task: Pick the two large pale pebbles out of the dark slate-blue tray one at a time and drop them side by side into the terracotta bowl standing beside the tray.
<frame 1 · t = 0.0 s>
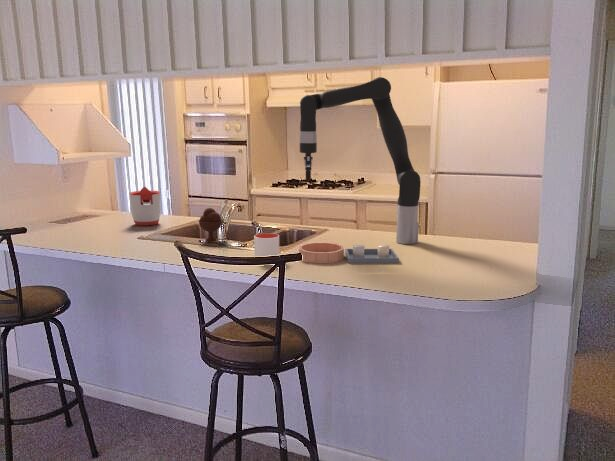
hand: (308, 178, 250), 29 cm above the countertop, tool pointing down, fingers open, 8 cm apart
ice cream bowl: (211, 240, 261), on the countertop
terracotta bowl: (321, 258, 229), on the countertop
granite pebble: (358, 258, 227), resting on parts tray
sandstone pebble: (383, 258, 227), resting on parts tray
parts tray: (370, 259, 227), on the countertop
citrus juicer: (146, 224, 297), on the countertop
cup: (267, 260, 227), on the countertop
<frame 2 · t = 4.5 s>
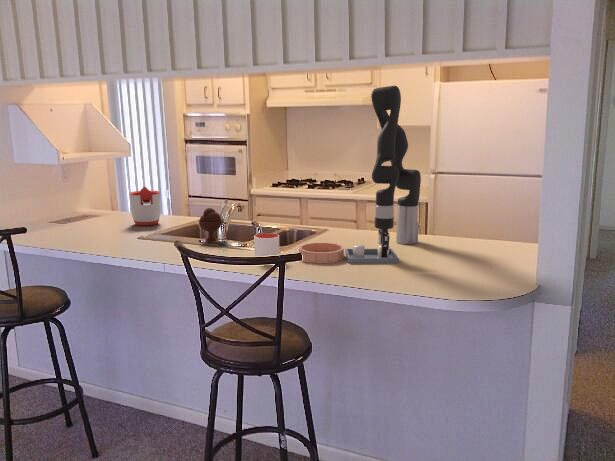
hand: (383, 257, 227), 1 cm above the countertop, tool pointing down, fingers closed on sandstone pebble, 4 cm apart
sandstone pebble: (383, 258, 227), resting on parts tray, touching gripper
everything else where it was.
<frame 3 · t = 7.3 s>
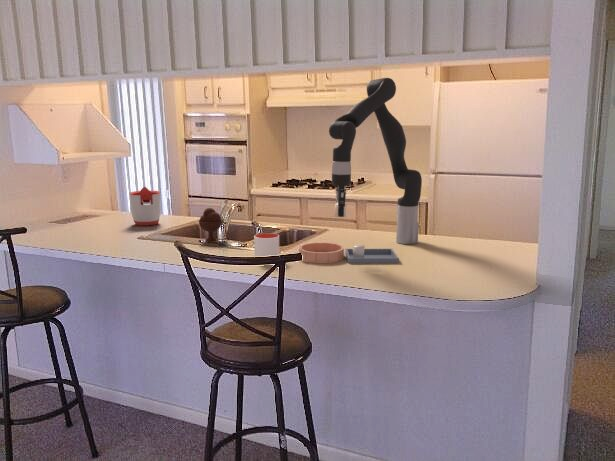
hand: (340, 215, 224), 18 cm above the countertop, tool pointing down, fingers closed on sandstone pebble, 4 cm apart
sandstone pebble: (340, 216, 224), point 18 cm above the countertop, touching gripper
everything else where it was.
when the fingers open (5 cm above the countertop, at t = 10.0 s): sandstone pebble drops 4 cm, resting on terracotta bowl.
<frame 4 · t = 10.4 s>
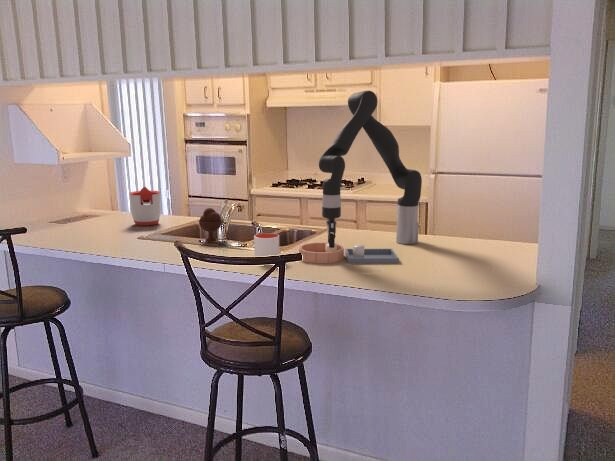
hand: (331, 245, 228), 6 cm above the countertop, tool pointing down, fingers open, 8 cm apart
sandstone pebble: (331, 256, 229), point 1 cm above the countertop, touching terracotta bowl
everything else where it was.
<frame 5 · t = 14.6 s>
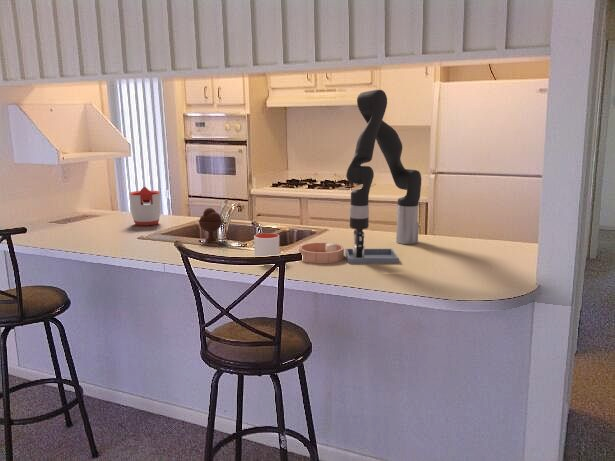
hand: (358, 257, 227), 1 cm above the countertop, tool pointing down, fingers closed on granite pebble, 4 cm apart
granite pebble: (358, 258, 227), resting on parts tray, touching gripper
everything else where it was.
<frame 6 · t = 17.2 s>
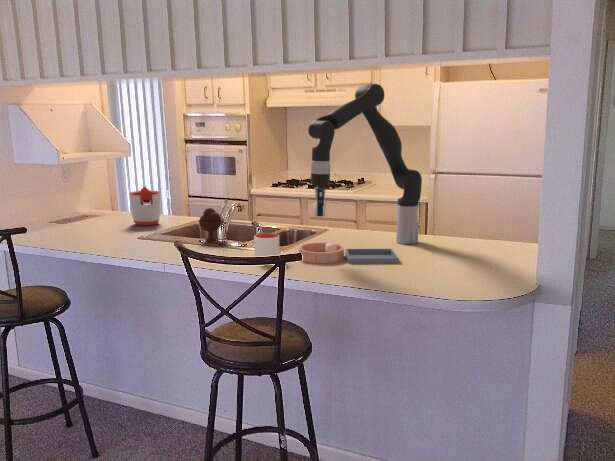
hand: (319, 214, 224), 18 cm above the countertop, tool pointing down, fingers closed on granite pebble, 4 cm apart
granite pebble: (319, 215, 224), point 18 cm above the countertop, touching gripper
everything else where it was.
when the fingers open (5 cm above the countertop, at t = 19.9 s): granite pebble drops 4 cm, resting on terracotta bowl.
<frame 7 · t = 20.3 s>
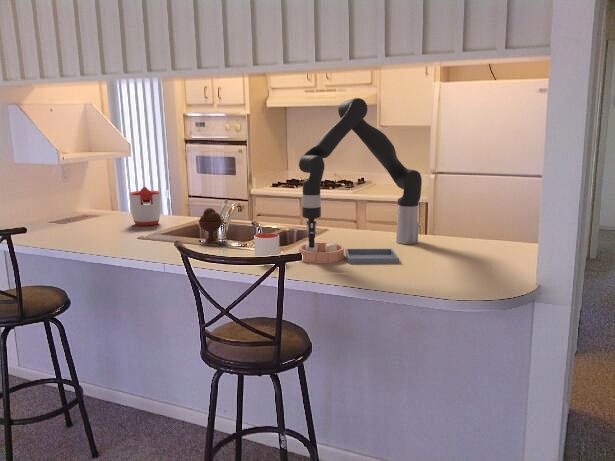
hand: (311, 245, 228), 6 cm above the countertop, tool pointing down, fingers open, 8 cm apart
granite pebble: (311, 256, 229), point 1 cm above the countertop, touching terracotta bowl
everything else where it was.
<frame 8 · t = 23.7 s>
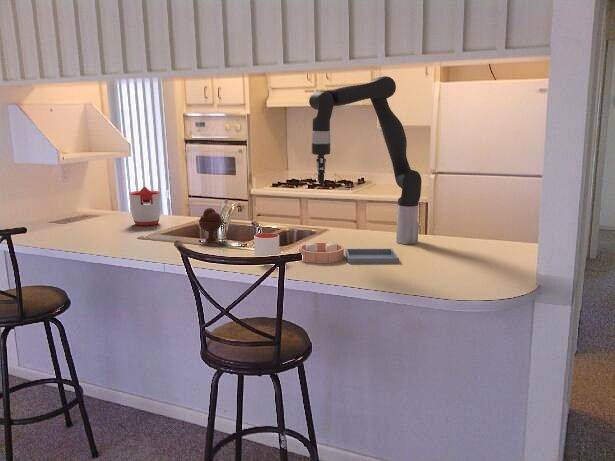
hand: (320, 182, 230), 30 cm above the countertop, tool pointing down, fingers open, 8 cm apart
nothing on the countertop moved.
at the end: sandstone pebble inside the target area on the terracotta bowl (4.0 cm from its centre), point 0.8 cm above the terracotta bowl's base; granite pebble inside the target area on the terracotta bowl (4.0 cm from its centre), point 0.8 cm above the terracotta bowl's base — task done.
